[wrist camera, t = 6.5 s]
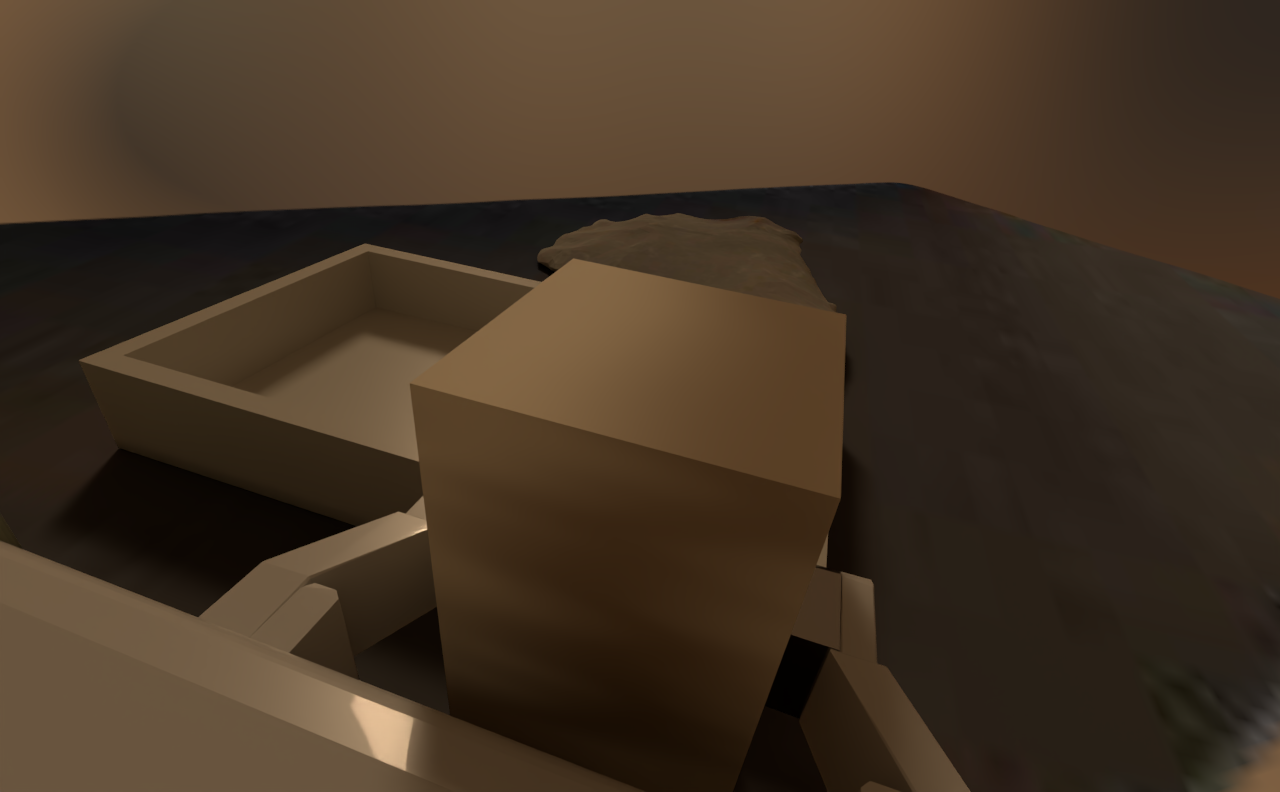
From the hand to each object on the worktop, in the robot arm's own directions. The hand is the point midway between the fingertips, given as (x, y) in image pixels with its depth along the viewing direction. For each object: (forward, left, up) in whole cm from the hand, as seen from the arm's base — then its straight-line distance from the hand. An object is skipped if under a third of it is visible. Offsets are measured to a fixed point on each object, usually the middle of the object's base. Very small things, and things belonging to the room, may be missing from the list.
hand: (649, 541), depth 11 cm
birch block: (0, -1, -7) cm, 7 cm away
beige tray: (-8, +10, -7) cm, 14 cm away
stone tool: (-4, +28, -7) cm, 29 cm away
